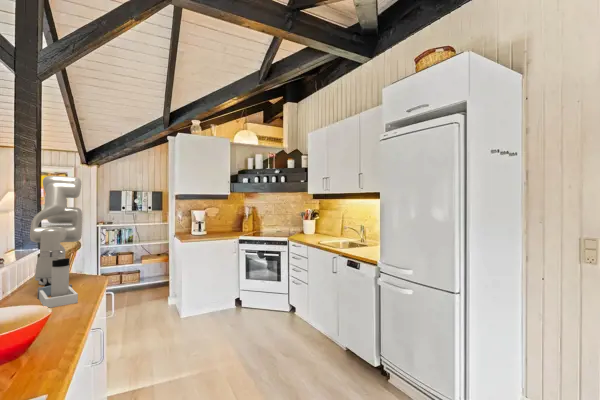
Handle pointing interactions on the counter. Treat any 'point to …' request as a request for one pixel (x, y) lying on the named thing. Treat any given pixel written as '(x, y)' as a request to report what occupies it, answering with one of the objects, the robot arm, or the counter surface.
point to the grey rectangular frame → (59, 298)
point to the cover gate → (46, 290)
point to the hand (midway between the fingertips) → (48, 291)
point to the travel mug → (60, 277)
